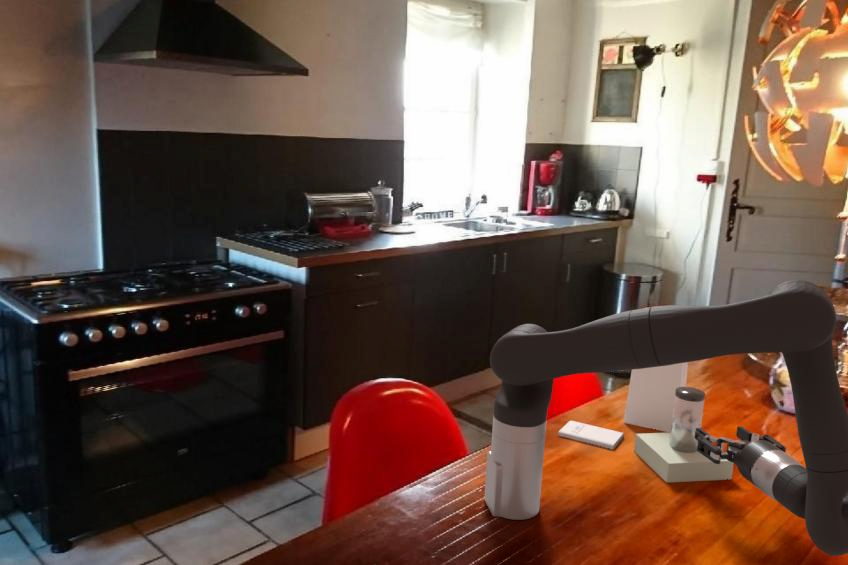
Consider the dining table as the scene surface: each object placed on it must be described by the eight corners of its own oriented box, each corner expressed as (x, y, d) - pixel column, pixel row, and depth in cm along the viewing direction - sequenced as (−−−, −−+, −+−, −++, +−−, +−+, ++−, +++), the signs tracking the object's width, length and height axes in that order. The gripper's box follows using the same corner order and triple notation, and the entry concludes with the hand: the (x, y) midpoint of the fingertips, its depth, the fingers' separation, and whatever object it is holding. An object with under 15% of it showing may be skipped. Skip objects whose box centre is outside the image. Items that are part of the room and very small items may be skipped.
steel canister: (677, 453, 143) (684, 397, 140) (664, 441, 148) (670, 387, 146) (703, 452, 144) (710, 396, 141) (688, 440, 149) (695, 386, 147)
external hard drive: (612, 452, 153) (557, 437, 159) (623, 439, 160) (570, 425, 166) (613, 445, 153) (558, 430, 159) (624, 432, 160) (570, 419, 166)
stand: (666, 482, 139) (668, 463, 138) (633, 451, 153) (635, 433, 152) (731, 479, 142) (734, 460, 141) (693, 448, 155) (695, 431, 154)
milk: (683, 417, 173) (696, 313, 167) (676, 434, 163) (689, 324, 157) (633, 407, 178) (644, 306, 173) (623, 422, 168) (634, 315, 163)
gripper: (814, 449, 119) (754, 411, 135) (737, 452, 117) (685, 414, 132) (807, 490, 121) (749, 448, 136) (731, 494, 118) (680, 451, 134)
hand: (717, 431), depth 134 cm, fingers open, 8 cm apart
